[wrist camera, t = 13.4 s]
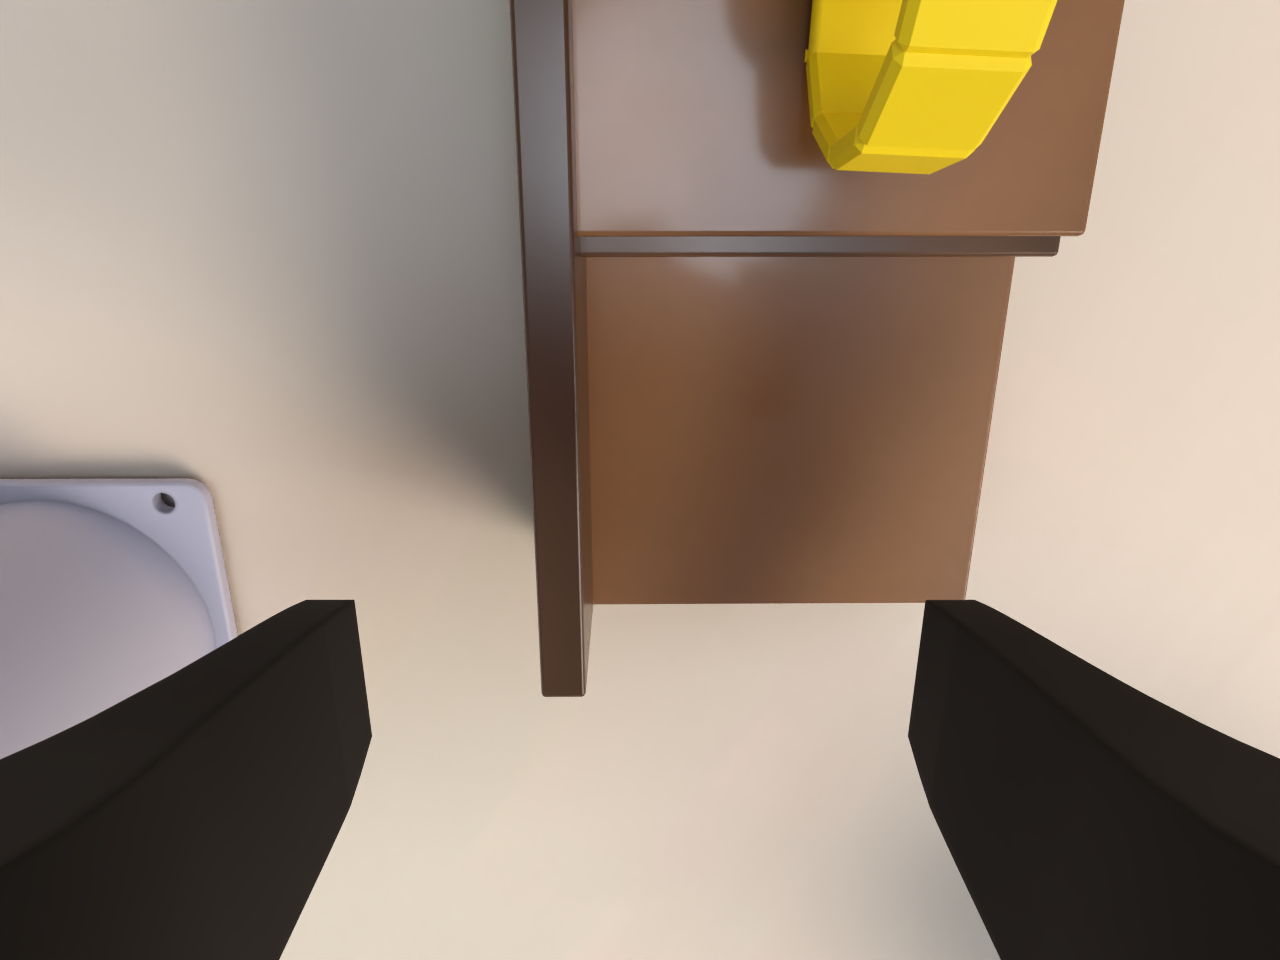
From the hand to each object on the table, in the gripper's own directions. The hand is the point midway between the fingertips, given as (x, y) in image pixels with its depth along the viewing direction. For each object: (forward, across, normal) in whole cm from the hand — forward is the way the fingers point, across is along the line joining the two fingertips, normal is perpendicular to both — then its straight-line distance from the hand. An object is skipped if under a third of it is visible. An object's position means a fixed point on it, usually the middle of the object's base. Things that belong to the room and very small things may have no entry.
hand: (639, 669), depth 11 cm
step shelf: (+10, -3, -5) cm, 12 cm away
